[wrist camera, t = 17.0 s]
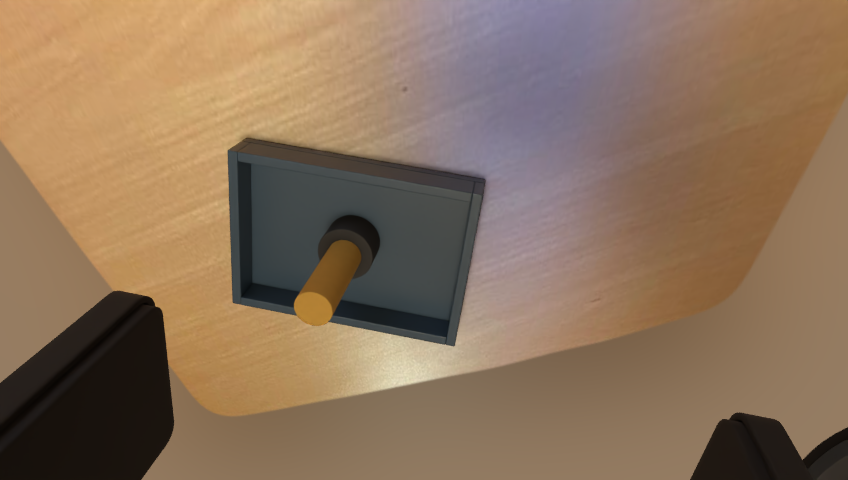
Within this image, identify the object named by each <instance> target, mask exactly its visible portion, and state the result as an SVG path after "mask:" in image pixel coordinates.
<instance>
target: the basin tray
mask: <svg viewBox="0 0 848 480" xmlns="http://www.w3.org/2000/svg"><path fill="white" fill-rule="evenodd" d="M228 175H229V205H230V236H231V266H232V296H233V303H236V304H241V305H245V306H251V307H256V308H261V309H266V310H271V311H276V312H281V313H286V314H291V315H296V316H297V314H296V312H295V310H294V302H295V299H296V298H297V296H298V295H299V293H300V291H301V290H302V288H303V287H304V285H305V284H306V282H307V281H308V279H309V278H310V276H311V275H312V273H313V272H314V270H315V269H316V267H317V266H318V264H319V262H320V260H319V257H318V245H319V242H320V240H321V238H322V237H323V236H324V234H325V233H326V231H327V230H328V229H329V227H330V226H331V224H332V223H333V222H334V221H335V220H336V219H338V218H340V217H342V216H347V215H354V216H359V217H362V218H364V219H366V220H367V221H369V222H370V223H371V224H372V225H373V226H374V227H375V228H376V230H377V232H378V234H379V238H380V247H379V251H378V253H377V255H376V257H375V259H374V261H373V263H372V265H371V267H370V269H369V270H368V272H367V273H366V274H364V275H363V276H361V277H359V278H355V279H351V281H350V283H349V285H348V287H347V289H346V291H345V293H344V295H343V296H342V298H341V300H340V302H339V304H338V306H337V308H336V310H335V312H334V314H333V316H332V318H331V319H330V321H329V322H332V323H337V324H342V325H347V326H352V327H358V328H363V329H368V330H373V331H378V332H383V333H388V334H393V335H398V336H403V337H409V338H414V339H419V340H424V341H429V342H434V343H439V344H444V345H445V344H446V345H450V346H455V341H456V336H457V331H458V325H459V320H460V315H461V310H462V304H463V299H464V294H465V289H466V283H467V278H468V273H469V268H470V262H471V257H472V252H473V246H474V241H475V236H476V231H477V225H478V220H479V215H480V210H481V204H482V199H483V193H484V187H485V180H484V179H479V178H473V177H468V176H462V175H456V174H450V173H444V172H439V171H433V170H427V169H421V168H416V167H410V166H404V165H398V164H393V163H387V162H381V161H375V160H369V159H364V158H358V157H352V156H346V155H341V154H335V153H329V152H323V151H318V150H312V149H306V148H300V147H294V146H289V145H283V144H277V143H271V142H266V141H260V140H254V139H248V138H246V139H244V140H243V141H241V142H240V143H238V144H237V145H235V146H234V147H232V148H231V149H229V150H228Z"/></svg>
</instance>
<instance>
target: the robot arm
mask: <svg viewBox="0 0 848 480" xmlns="http://www.w3.org/2000/svg"><path fill="white" fill-rule="evenodd" d="M173 426H174V417H173V407H172V398H171V388H170V379H169V369H168V359H167V350H166V340H165V330H164V321H163V313H162V310H161V309H160V308H158V307H155V303H154V301H153V299H152V298H150V297H148V296H143V295H138V294H133V293H128V292H123V291H113V292H112V293H110V294H109V295H107V296H106V297H105V298H104V299H102V300H101V301H100V302H99V303H97V304H96V305H95V306H94V307H93V308H91V309H90V310H89V311H88V312H86V313H85V314H84V315H83V316H82V317H80V318H79V319H78V320H77V321H76V322H74V323H73V324H72V325H71V326H70V327H68V328H67V329H66V330H65V331H64V332H62V333H61V334H60V335H58V337H56V338H55V339H54V340H52V341H51V342H50V343H49V344H47V345H46V346H45V347H44V348H42V349H41V350H40V351H39V352H38V353H36V354H35V355H34V356H33V357H31V358H30V359H29V360H28V361H27V362H25V363H24V364H23V365H22V366H20V367H19V368H18V369H17V370H16V371H14V372H13V373H12V374H11V375H9V376H8V377H7V378H6V379H5V380H3V381H2V382H1V383H0V480H141V479H142V478H143V476H144V475H145V474H146V472H147V471H148V470H149V468H150V467H151V465H152V464H153V462H154V461H155V460H156V458H157V457H158V456H159V454H160V453H161V451H162V450H163V449H164V447H165V446H166V444H167V443H168V441H169V439H170V437H171V434H172V431H173ZM690 480H813V478H812V476H811V475H810V473H809V471H808V469H807V468H806V466H805V464H804V462H803V461H802V459H801V457H800V455H799V454H798V452H797V450H796V448H795V446H794V445H793V443H792V441H791V439H790V438H789V436H788V434H787V432H786V431H785V429H784V427H783V426H782V425H781V423H780V422H779V421H777V420H775V419H770V418H765V417H760V416H755V415H749V414H744V413H735V414H733V415H732V416H731V418H730V419H729V420H727V419H722V420H721V421H720V422H719V423H718V425H717V426H716V429H715V431H714V432H713V434H712V437H711V439H710V441H709V443H708V445H707V447H706V449H705V451H704V453H703V455H702V457H701V459H700V461H699V463H698V465H697V467H696V469H695V471H694V473H693V475H692V477H691V479H690Z"/></svg>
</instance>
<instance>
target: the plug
mask: <svg viewBox="0 0 848 480" xmlns="http://www.w3.org/2000/svg"><path fill="white" fill-rule="evenodd" d="M379 247H380V238H379V234H378V232H377V230H376V228H375V227H374V226H373V225H372V224H371V223H370V222H369V221H367V220H366V219H364V218H362V217H359V216H354V215H347V216H342V217H340V218H338V219H336V220H335V221H334V222H333V223H332V224H331V226H330V227H329V229H328V230H327V231H326V233H325V234H324V236H323V237H322V238H321V240H320V242H319V245H318V257H319V260H320V262H319V264H318V266H317V267H316V269H315V270H314V272H313V273H312V275H311V276H310V278H309V279H308V281H307V282H306V284H305V285H304V287H303V288H302V290H301V291H300V293H299V295H298V296H297V298H296V299H295V302H294V310H295V312H296V314H297V316H298V317H299V318H300V319H301V320H302V321H303V322H305V323H307V324H309V325H314V326H320V325H324V324H326V323H327V322H329V321H330V319H331V318H332V316H333V314H334V312H335V310H336V308H337V306H338V304H339V302H340V300H341V298H342V296H343V295H344V293H345V291H346V289H347V287H348V285H349V283H350V281H351V279H355V278H359V277H361V276H363V275H364V274H366V273H367V272H368V270H369V269H370V267H371V265H372V263H373V261H374V259H375V257H376V255H377V253H378V251H379Z"/></svg>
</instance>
